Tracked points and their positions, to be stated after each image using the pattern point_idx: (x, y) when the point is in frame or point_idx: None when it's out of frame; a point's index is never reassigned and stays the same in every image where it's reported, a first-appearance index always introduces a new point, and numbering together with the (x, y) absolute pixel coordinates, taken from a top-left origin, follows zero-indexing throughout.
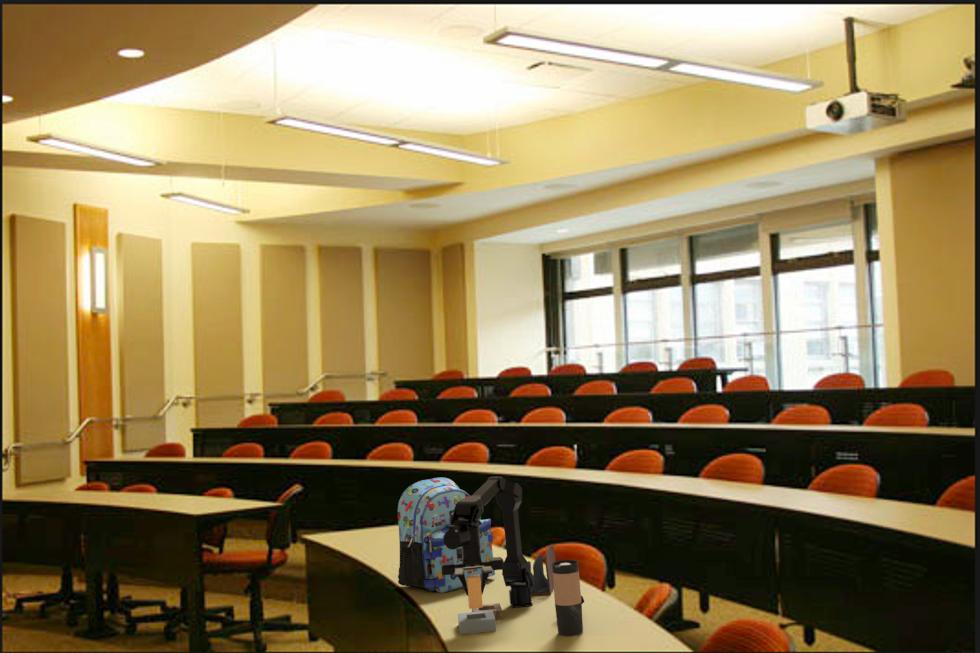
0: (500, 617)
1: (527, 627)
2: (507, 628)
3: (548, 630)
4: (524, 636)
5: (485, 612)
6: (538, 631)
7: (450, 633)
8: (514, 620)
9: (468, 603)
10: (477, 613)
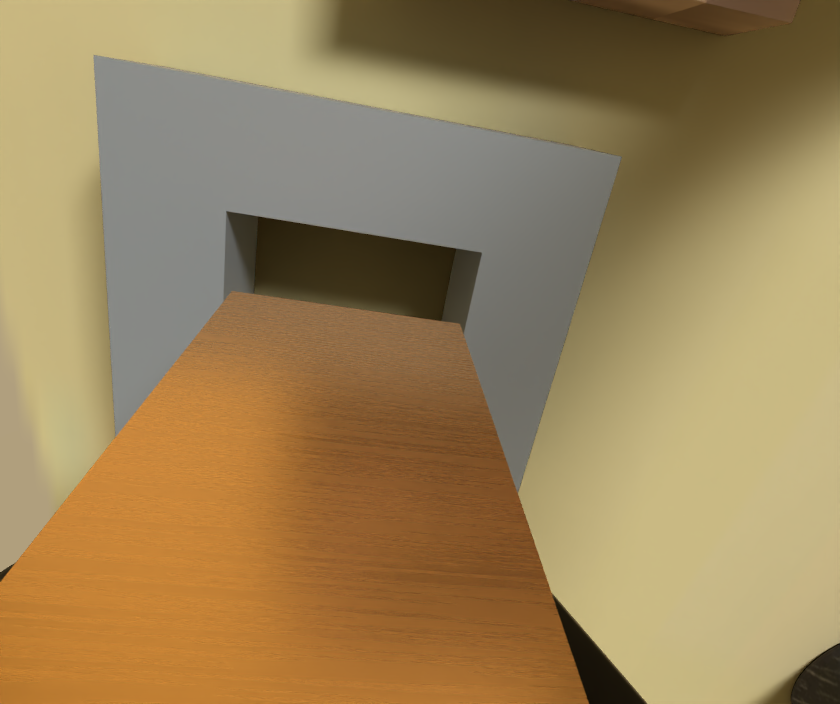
0: (706, 28)
1: (732, 481)
2: (591, 438)
3: (799, 599)
4: (605, 649)
5: (498, 229)
6: (736, 594)
7: (68, 354)
8: (771, 212)
9: (221, 313)
10: (386, 220)
